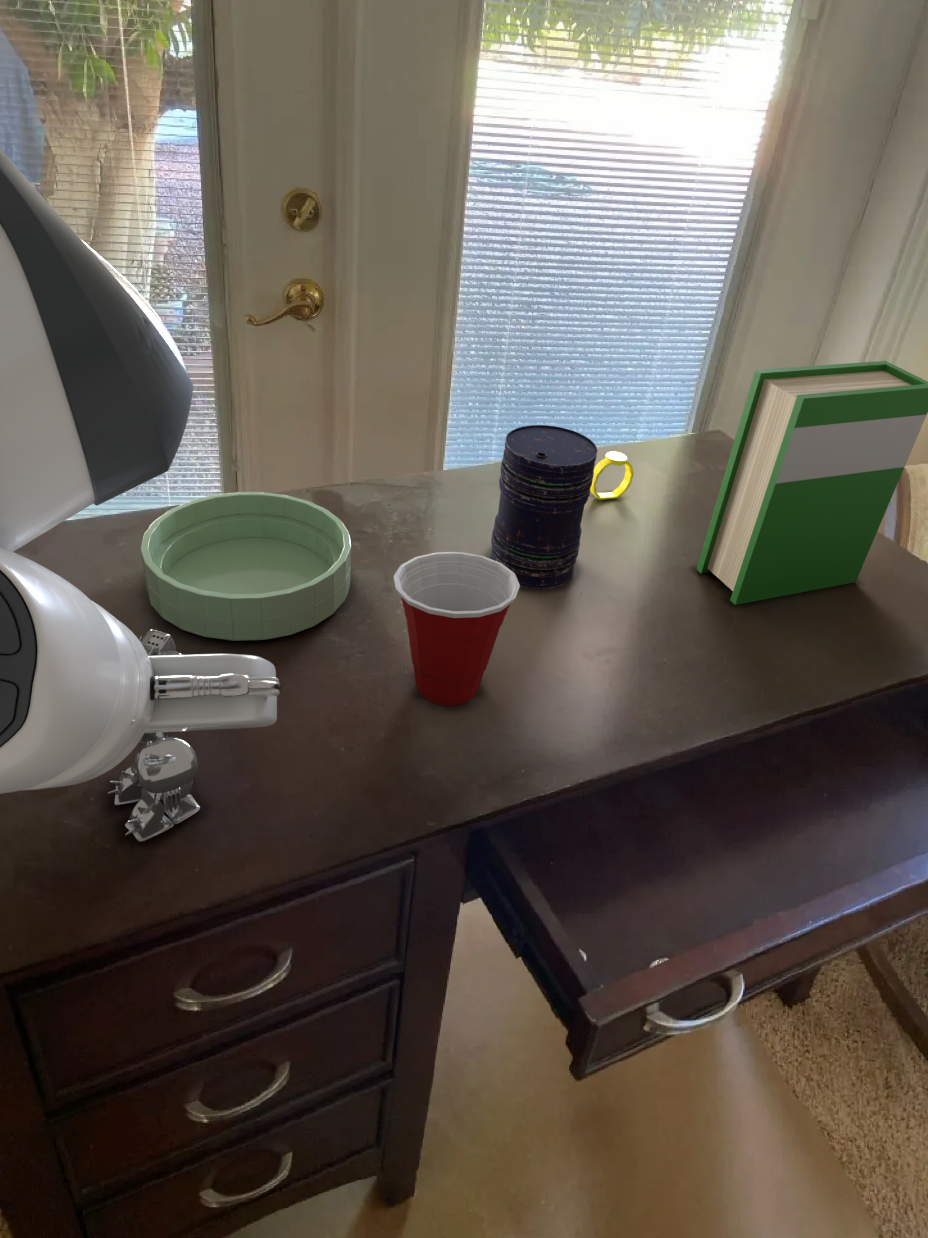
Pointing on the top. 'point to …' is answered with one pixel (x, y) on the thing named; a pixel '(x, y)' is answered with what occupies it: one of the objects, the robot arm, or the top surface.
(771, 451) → the hardback book
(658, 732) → the top surface
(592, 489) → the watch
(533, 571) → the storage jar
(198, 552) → the bowl
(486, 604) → the plastic cup
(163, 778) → the robot toy
